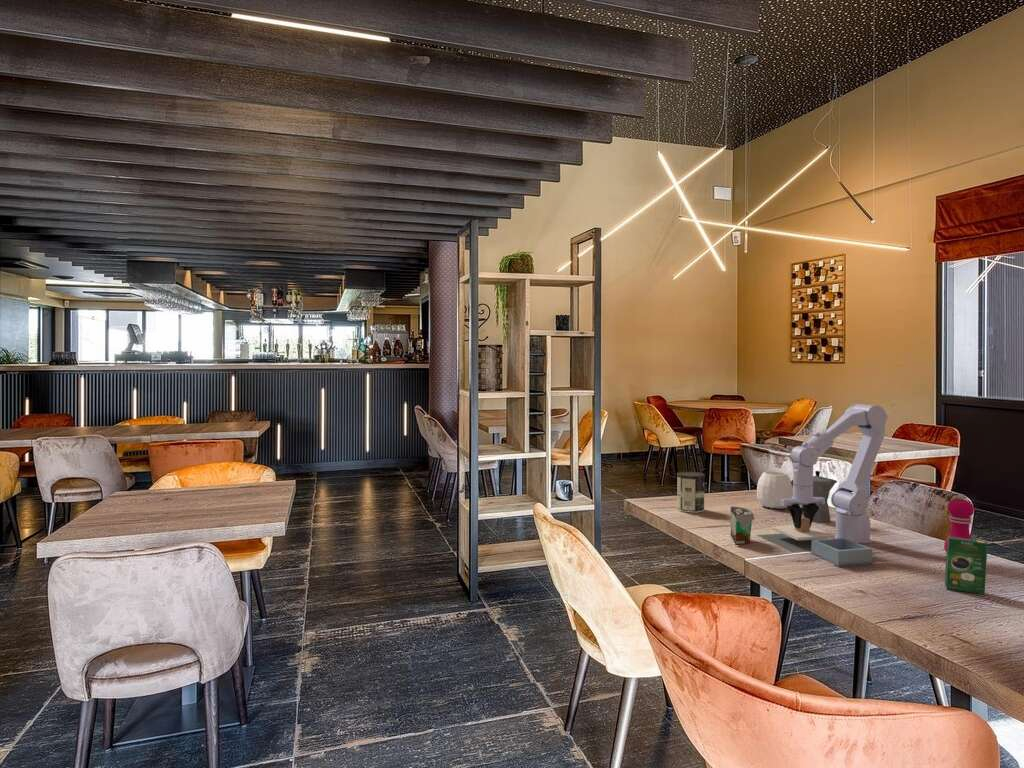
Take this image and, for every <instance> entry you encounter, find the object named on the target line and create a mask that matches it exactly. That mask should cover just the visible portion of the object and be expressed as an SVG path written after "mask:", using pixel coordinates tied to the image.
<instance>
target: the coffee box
mask: <svg viewBox="0 0 1024 768" xmlns="http://www.w3.org/2000/svg"><path fill="white" fill-rule="evenodd" d="M947 537H948V538H946V539H947V552H946V553H945V554H946V555H945V569H944V570H945V571H944V587H945V586H946V587H945V589H946V588H947V589H946V590H951V589H952V590H951V591H955V590H960V591H959V592H964V591H966V593H972V594H975V593H976V595H977V594H978V595H985V594H986V593H985V592H986V579H987V577H986V575H987V559H988V557H987V556H988V543H987V541H986V540H980V539H974V538H973V539H966V538H958V537H951V536H949V535H947Z"/></svg>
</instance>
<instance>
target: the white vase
mask: <svg viewBox="0 0 1024 768" xmlns="http://www.w3.org/2000/svg"><path fill="white" fill-rule="evenodd" d="M791 481H792V479H791V477H790V476H789V474H788V473H786V472H783V471H776V470H767V471H763V472H762V474H761V475H760V477H759V479H758V481H757V485H756V486H757V487H756V498H757V500H758V502H759V504H760V505H761V506H763V507H765V508H768V507H769V509H774V508H775V510H777V509H781V510H782V509H788V508H787V506H785V507H784V506H782V505H780V499H786V498H791V497H792V496H793V487H792V485H791Z"/></svg>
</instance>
